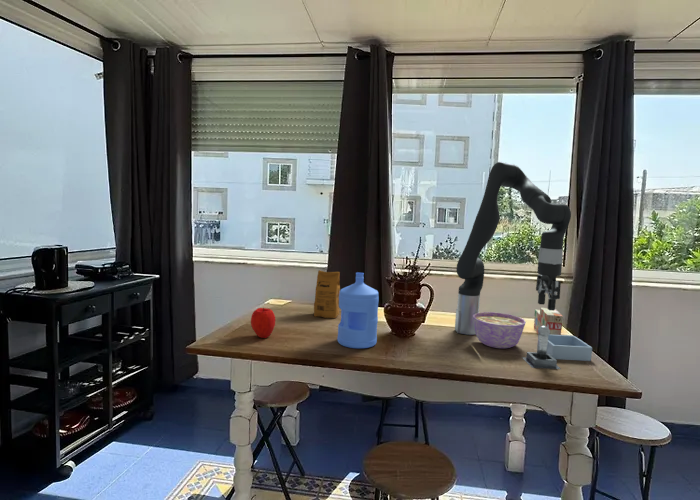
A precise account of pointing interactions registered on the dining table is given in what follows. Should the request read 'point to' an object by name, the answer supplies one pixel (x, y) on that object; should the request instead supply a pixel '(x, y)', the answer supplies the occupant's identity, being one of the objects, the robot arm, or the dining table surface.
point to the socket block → (541, 361)
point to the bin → (568, 348)
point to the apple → (263, 322)
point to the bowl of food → (498, 329)
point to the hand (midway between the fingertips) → (546, 307)
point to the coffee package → (327, 295)
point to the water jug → (358, 315)
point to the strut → (542, 342)
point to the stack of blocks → (548, 320)
